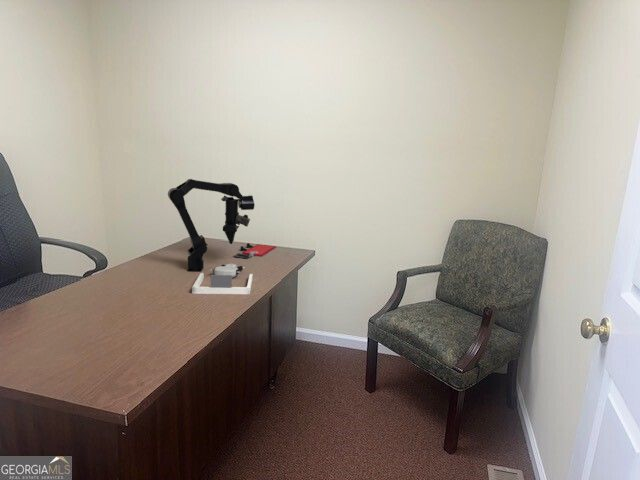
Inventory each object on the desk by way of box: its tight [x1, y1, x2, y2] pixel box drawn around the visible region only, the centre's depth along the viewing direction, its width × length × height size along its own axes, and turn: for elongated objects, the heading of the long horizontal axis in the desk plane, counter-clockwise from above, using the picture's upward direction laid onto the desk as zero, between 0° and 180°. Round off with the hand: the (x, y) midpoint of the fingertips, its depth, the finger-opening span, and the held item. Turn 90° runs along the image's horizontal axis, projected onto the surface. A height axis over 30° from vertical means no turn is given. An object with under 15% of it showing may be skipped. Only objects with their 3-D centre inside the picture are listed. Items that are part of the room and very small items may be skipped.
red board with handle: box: [233, 242, 277, 259], centre depth 233 cm, size 30×3×15 cm
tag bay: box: [191, 272, 254, 295], centre depth 175 cm, size 22×19×8 cm
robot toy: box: [211, 263, 245, 279], centre depth 191 cm, size 12×4×15 cm
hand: (231, 242), depth 201 cm, fingers open, 5 cm apart
